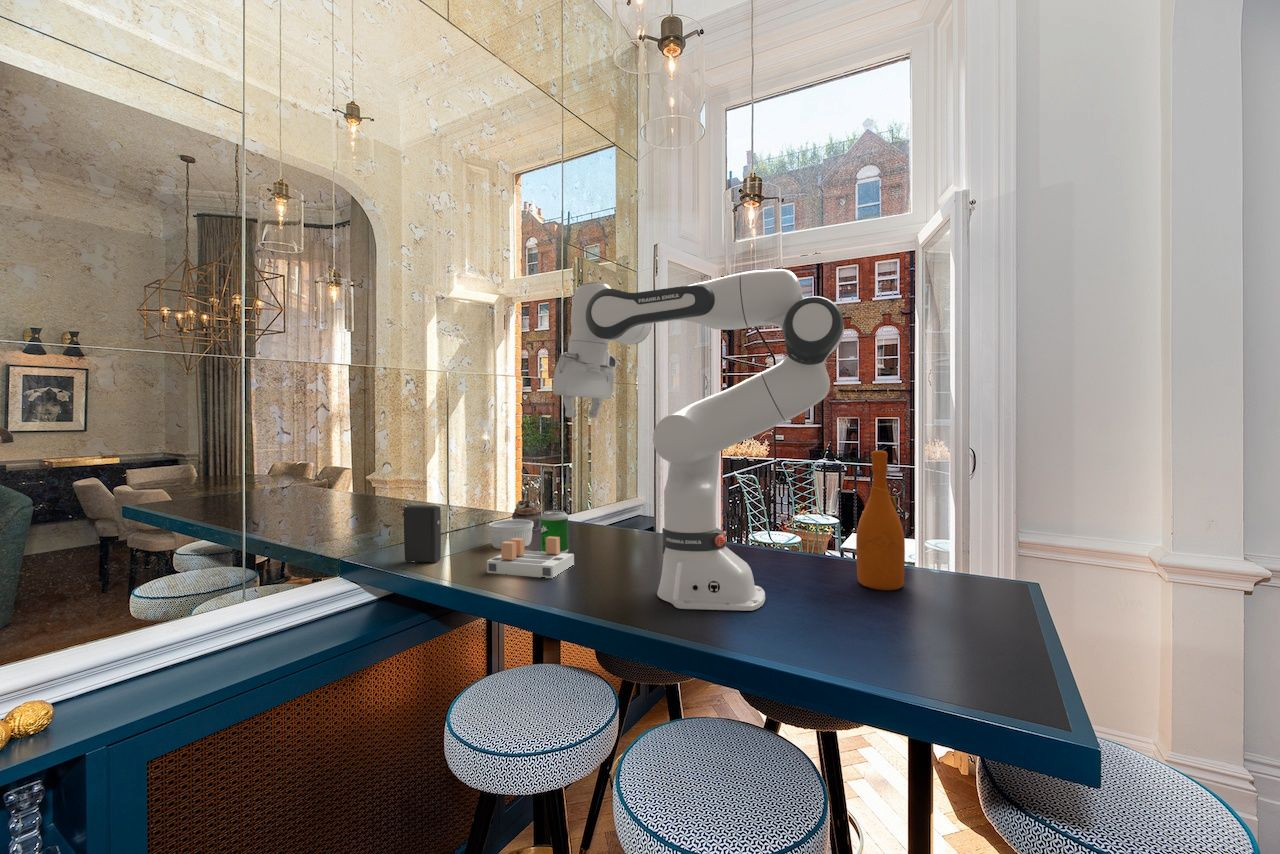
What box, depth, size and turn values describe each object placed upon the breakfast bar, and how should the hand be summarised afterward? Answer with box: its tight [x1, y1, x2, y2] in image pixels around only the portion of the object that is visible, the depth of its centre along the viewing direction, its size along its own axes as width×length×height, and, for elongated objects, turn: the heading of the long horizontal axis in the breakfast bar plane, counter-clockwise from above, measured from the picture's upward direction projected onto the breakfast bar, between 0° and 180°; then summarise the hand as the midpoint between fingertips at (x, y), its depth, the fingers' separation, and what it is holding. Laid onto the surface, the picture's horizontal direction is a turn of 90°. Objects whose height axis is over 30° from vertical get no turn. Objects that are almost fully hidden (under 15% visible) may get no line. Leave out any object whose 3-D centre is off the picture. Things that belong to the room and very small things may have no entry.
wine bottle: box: [855, 449, 906, 591], centre depth 120 cm, size 10×10×30 cm
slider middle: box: [510, 538, 526, 556], centre depth 138 cm, size 3×2×4 cm, turn 72°
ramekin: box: [488, 519, 534, 550], centre depth 164 cm, size 13×13×7 cm
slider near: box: [500, 541, 516, 560], centre depth 134 cm, size 3×2×4 cm, turn 72°
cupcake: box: [511, 500, 541, 530], centre depth 188 cm, size 10×10×10 cm
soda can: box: [540, 509, 569, 553], centre depth 151 cm, size 8×8×12 cm
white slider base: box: [486, 550, 575, 579], centre depth 137 cm, size 18×12×3 cm
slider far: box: [546, 536, 560, 554], centre depth 139 cm, size 3×2×4 cm, turn 72°
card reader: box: [403, 504, 442, 563], centre depth 146 cm, size 9×4×15 cm, turn 82°
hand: (581, 417), depth 123 cm, fingers open, 8 cm apart
